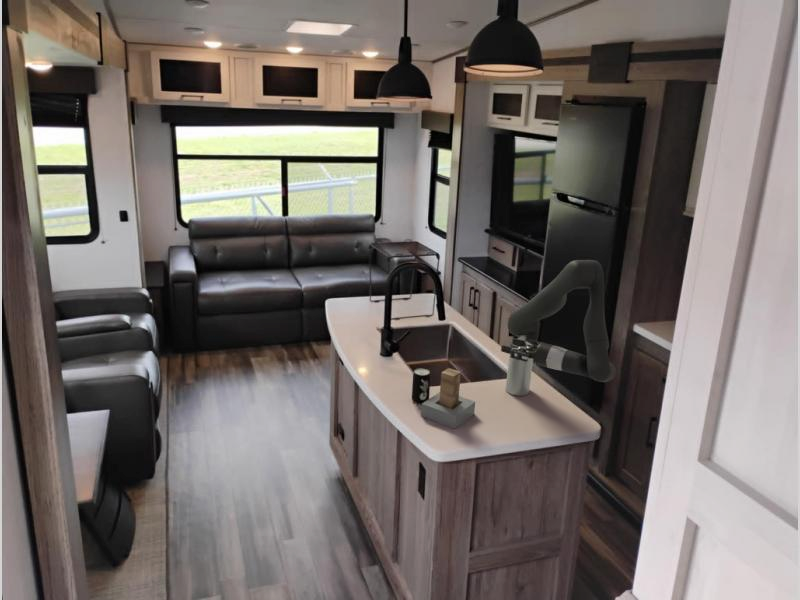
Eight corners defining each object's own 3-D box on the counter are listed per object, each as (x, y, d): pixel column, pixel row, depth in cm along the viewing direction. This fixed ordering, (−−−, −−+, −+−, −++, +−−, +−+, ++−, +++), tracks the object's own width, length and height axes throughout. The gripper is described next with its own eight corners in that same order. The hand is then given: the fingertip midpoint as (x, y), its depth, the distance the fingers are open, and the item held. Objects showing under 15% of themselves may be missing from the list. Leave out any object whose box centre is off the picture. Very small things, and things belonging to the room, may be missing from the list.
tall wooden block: (445, 407, 229) (448, 368, 224) (457, 412, 227) (460, 371, 222) (438, 413, 225) (441, 372, 220) (450, 417, 223) (453, 376, 218)
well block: (441, 402, 236) (442, 390, 234) (474, 413, 228) (475, 401, 226) (421, 416, 225) (421, 403, 223) (454, 428, 217) (455, 415, 215)
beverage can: (414, 405, 232) (416, 375, 229) (409, 397, 238) (411, 368, 235) (431, 403, 234) (433, 374, 230) (425, 396, 240) (427, 367, 236)
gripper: (561, 340, 209) (517, 328, 218) (544, 352, 198) (498, 340, 207) (559, 360, 211) (515, 348, 220) (542, 374, 200) (496, 360, 209)
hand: (507, 344), depth 213 cm, fingers open, 8 cm apart
